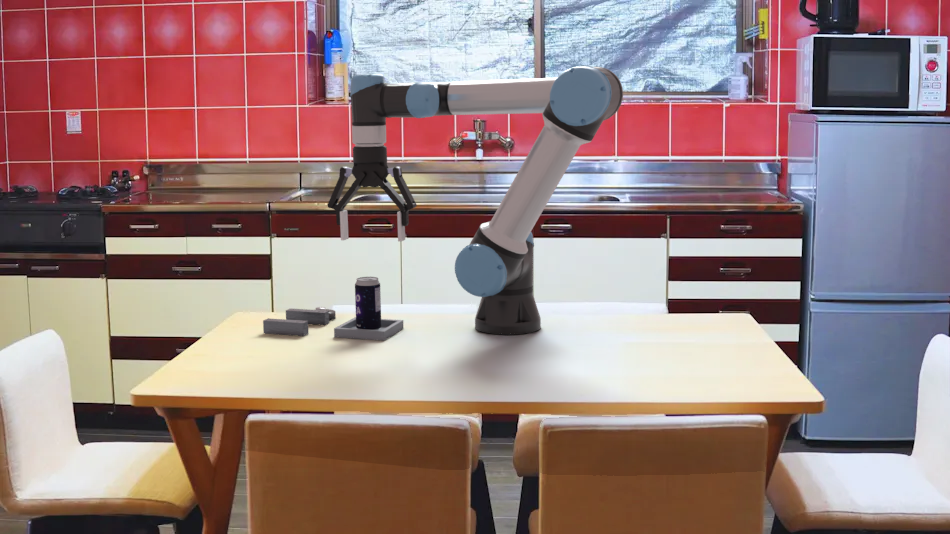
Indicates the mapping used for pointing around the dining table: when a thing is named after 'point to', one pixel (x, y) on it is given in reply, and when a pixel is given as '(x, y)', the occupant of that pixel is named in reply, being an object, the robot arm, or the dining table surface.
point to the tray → (383, 333)
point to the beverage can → (368, 303)
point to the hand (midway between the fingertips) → (373, 240)
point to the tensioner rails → (298, 321)
